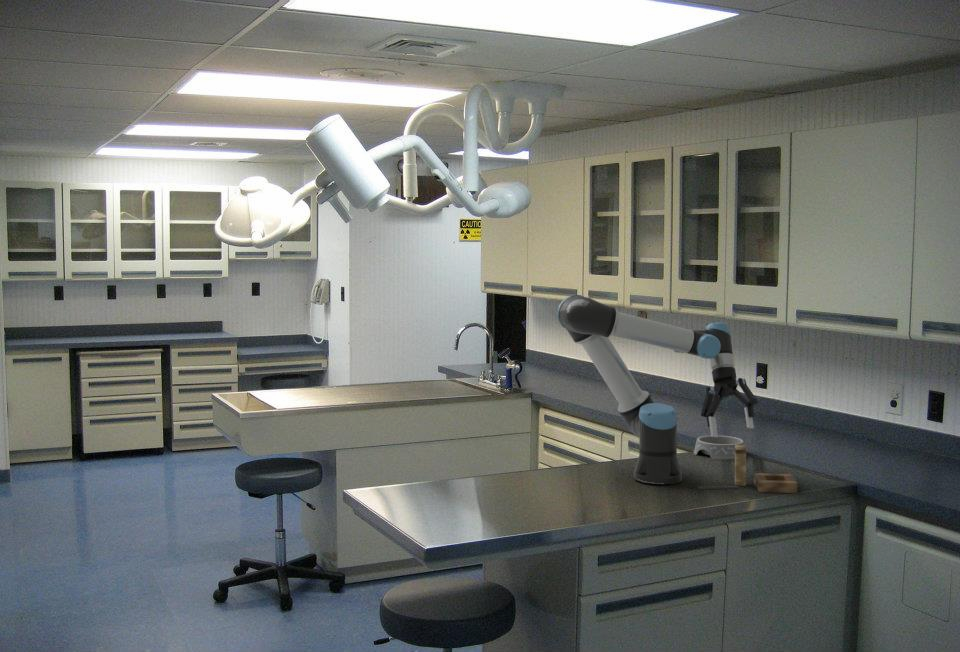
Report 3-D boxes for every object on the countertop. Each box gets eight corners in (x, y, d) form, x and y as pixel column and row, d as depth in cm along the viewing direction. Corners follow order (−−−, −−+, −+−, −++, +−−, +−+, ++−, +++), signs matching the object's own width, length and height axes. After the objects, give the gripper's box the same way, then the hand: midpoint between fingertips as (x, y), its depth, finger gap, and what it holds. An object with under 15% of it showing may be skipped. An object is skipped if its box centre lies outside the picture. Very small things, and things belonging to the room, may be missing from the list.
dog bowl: (716, 446, 336) (716, 432, 336) (756, 455, 321) (757, 440, 321) (683, 453, 327) (684, 438, 326) (724, 462, 312) (724, 447, 311)
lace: (699, 489, 278) (699, 487, 278) (698, 488, 279) (698, 486, 278) (738, 488, 278) (738, 486, 278) (737, 487, 279) (738, 486, 279)
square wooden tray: (758, 491, 274) (759, 482, 274) (754, 482, 285) (754, 473, 284) (797, 493, 272) (797, 483, 272) (790, 483, 283) (791, 473, 283)
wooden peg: (735, 485, 282) (735, 447, 281) (734, 482, 285) (734, 444, 284) (745, 485, 281) (746, 447, 280) (744, 483, 284) (745, 445, 283)
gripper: (762, 361, 293) (772, 425, 286) (699, 380, 310) (707, 441, 303) (749, 357, 288) (759, 422, 281) (685, 376, 306) (693, 438, 298)
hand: (732, 432), depth 292 cm, fingers open, 13 cm apart
